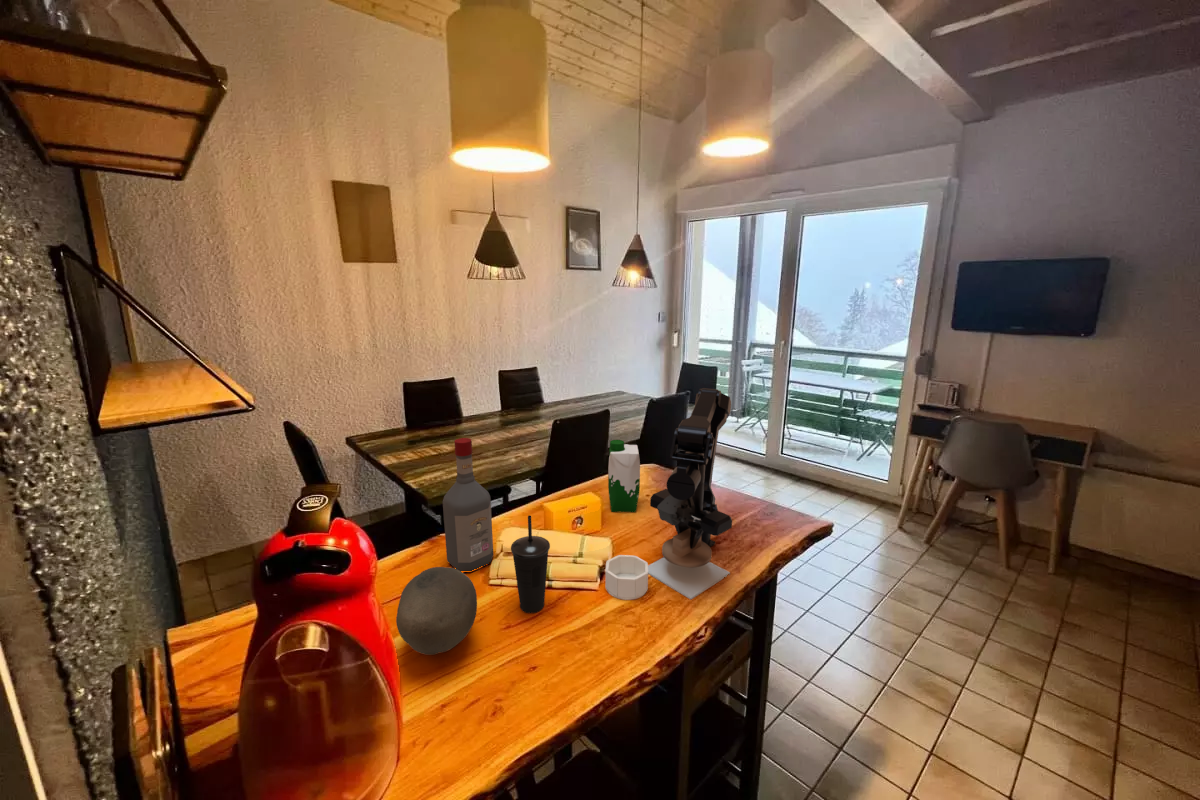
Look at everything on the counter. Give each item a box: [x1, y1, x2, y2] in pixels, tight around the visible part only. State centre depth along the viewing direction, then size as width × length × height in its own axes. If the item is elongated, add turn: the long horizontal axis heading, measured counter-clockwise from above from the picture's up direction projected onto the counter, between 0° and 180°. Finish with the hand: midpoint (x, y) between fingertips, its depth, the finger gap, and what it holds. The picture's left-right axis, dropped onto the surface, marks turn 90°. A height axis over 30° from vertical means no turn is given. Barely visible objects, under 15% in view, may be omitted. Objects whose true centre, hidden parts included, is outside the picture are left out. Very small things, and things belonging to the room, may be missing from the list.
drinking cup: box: [510, 515, 551, 614], centre depth 98 cm, size 8×8×20 cm
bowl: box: [604, 554, 649, 601], centre depth 106 cm, size 9×9×5 cm
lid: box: [661, 528, 713, 568], centre depth 110 cm, size 11×11×5 cm
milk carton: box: [607, 439, 641, 513], centre depth 141 cm, size 9×9×20 cm
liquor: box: [442, 437, 494, 571], centre depth 112 cm, size 9×9×30 cm
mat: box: [648, 556, 731, 600], centre depth 112 cm, size 14×14×1 cm
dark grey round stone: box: [395, 566, 478, 656], centre depth 87 cm, size 14×14×15 cm
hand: (687, 545), depth 110 cm, fingers closed on lid, 2 cm apart
